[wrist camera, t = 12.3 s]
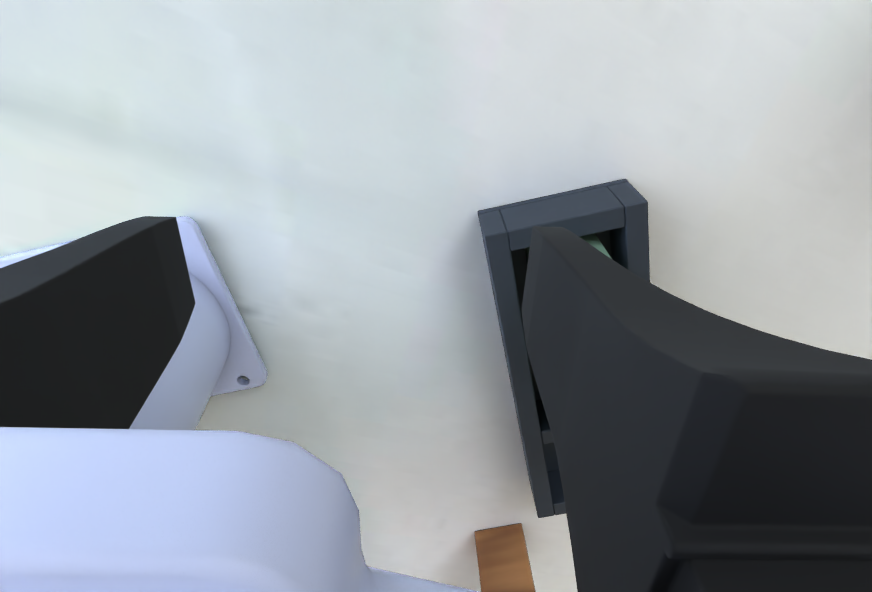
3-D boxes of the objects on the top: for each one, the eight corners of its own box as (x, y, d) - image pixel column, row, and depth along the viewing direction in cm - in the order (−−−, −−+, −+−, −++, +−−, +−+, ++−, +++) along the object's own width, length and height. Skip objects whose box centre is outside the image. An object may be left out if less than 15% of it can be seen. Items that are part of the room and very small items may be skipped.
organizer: (529, 480, 29) (538, 518, 27) (477, 210, 21) (484, 236, 20) (639, 460, 29) (655, 497, 27) (625, 178, 21) (648, 200, 19)
